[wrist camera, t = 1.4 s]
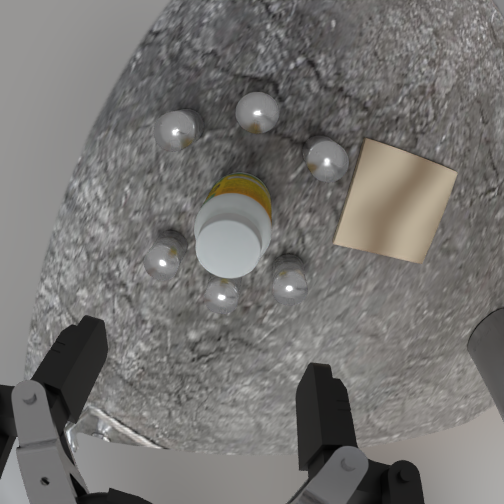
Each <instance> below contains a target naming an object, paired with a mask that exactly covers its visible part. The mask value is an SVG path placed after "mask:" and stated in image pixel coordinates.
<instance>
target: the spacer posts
mask: <svg viewBox="0 0 504 504" xmlns="http://www.w3.org/2000/svg"><path fill="white" fill-rule="evenodd" d="M236 119H237V121H238V123H239V125H240V126H241V127H242V128H243V129H245V130H246V131H248V132H250V133H255V134H260V133H265V132H267V131H269V130H271V129H272V128H273V127H274V126H275V125H276V123H277V121H278V119H279V107H278V104H277V103H276V101H275V100H274V99H273V98H272V97H271V96H270V95H268V94H266V93H263V92H252V93H249V94H247V95H245V96H244V97H242V98H241V99H240V101H239V102H238V104H237V106H236ZM203 130H204V121H203V119H202V117H201V115H200V114H199V113H198V112H196V111H194V110H192V109H182V110H177V111H172V112H168V113H165V114H163V115H162V116H161V117H160V118H159V119H158V120H157V121H156V123H155V126H154V138H155V140H156V142H157V144H158V145H159V146H160V147H161V148H163V149H164V150H167V151H171V152H176V151H180V150H182V149H184V148H185V147H187V146H188V145H190V144H191V143H193V142H195V141H196V140H197V139H199V138H200V136H201V135H202V133H203ZM302 155H303V159H304V161H305V163H306V164H307V166H308V168H309V170H310V172H311V174H312V175H313V176H314V177H315V178H316V179H318V180H320V181H323V182H334V181H337V180H339V179H340V178H342V177H343V176H344V174H345V173H346V171H347V169H348V165H349V159H348V155H347V153H346V151H345V150H344V149H343V148H342V147H341V146H340V145H339V144H337V143H336V142H334V141H333V140H332V139H330V138H329V137H327V136H323V135H316V136H313V137H311V138H309V139H308V140H307V141H306V142H305V144H304V146H303V150H302ZM186 250H187V242H186V240H185V238H184V237H183V235H181V234H180V233H179V232H176V231H173V230H168V231H165V232H163V233H162V234H161V235H160V236H159V237H158V239H157V240H156V242H155V243H154V244H153V246H152V247H151V249H150V250H149V252H148V253H147V255H146V256H145V258H144V267H145V269H146V271H147V273H148V274H149V275H150V276H152V277H153V278H155V279H157V280H169V279H171V278H172V277H173V276H174V275H175V273H176V271H177V269H178V267H179V265H180V263H181V261H182V259H183V257H184V255H185V253H186ZM272 275H273V296H274V298H275V299H276V301H278V302H279V303H281V304H283V305H289V306H290V305H296V304H298V303H300V302H302V301H303V300H304V299H305V298H306V296H307V293H308V288H307V282H306V277H305V271H304V265H303V262H302V260H301V259H300V258H299V257H298V256H296V255H293V254H284V255H281V256H279V257H278V258H277V259H276V260H275V261H274V263H273V266H272ZM240 283H241V277H237V278H222V277H219V276H216V275H214V274H212V273H211V275H210V279H209V282H208V285H207V289H206V292H205V295H204V302H205V305H206V306H207V308H208V309H210V310H211V311H213V312H215V313H218V314H227V313H230V312H232V311H233V310H234V309H235V308H236V307H237V304H238V297H239V290H240Z"/></svg>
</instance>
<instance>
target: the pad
mask: <svg viewBox="0 0 504 504" xmlns="http://www.w3.org/2000/svg"><path fill="white" fill-rule="evenodd" d="M457 174H458V172H456V171H454V170H452V169H449V168H447V167H444V166H442V165H440V164H437V163H435V162H432V161H430V160H427V159H425V158H422V157H420V156H417V155H414V154H412V153H409V152H406V151H403V150H401V149H398V148H395V147H392V146H389V145H386V144H383V143H381V142H377V141H374V140H371V139H368V138H365V137H364V139H363V143H362V146H361V150H360V153H359V157H358V160H357V164H356V167H355V171H354V174H353V178H352V181H351V184H350V188H349V191H348V194H347V197H346V201H345V204H344V207H343V210H342V213H341V216H340V219H339V223H338V226H337V229H336V232H335V235H334V238H333V241H332V242H333V244H336V245H340V246H345V247H349V248H354V249H358V250H363V251H367V252H372V253H376V254H381V255H385V256H389V257H394V258H398V259H402V260H407V261H411V262H415V263H419V264H422V263H423V260H424V258H425V256H426V254H427V251H428V249H429V247H430V245H431V242H432V240H433V238H434V235H435V233H436V230H437V228H438V225H439V223H440V220H441V218H442V215H443V213H444V210H445V208H446V205H447V202H448V199H449V197H450V194H451V191H452V188H453V185H454V182H455V180H456V177H457Z"/></svg>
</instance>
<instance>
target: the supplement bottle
mask: <svg viewBox="0 0 504 504" xmlns="http://www.w3.org/2000/svg"><path fill="white" fill-rule="evenodd" d="M194 234H195V239H196V254H197V257H198V260H199V262H200V263H201V265H202V266H203V267H204V268H205V269H206V270H207V271H209V272H210V273H212V274H214V275H216V276H219V277H222V278H237V277H241V276H244V275H246V274H248V273H249V272H251V271H252V270H253V269H254V268H255V266H256V265H257V263H258V262H259V259H260V257H261V256H262V255H263V254H264V253H265V251H266V250H267V248H268V246H269V244H270V241H271V236H272V219H271V198H270V194H269V191H268V189H267V187H266V186H265V185H264V183H263V182H262V181H261V180H260V179H258V178H257V177H255V176H253V175H251V174H248V173H244V172H236V173H232V174H229V175H226V176H224V177H223V178H221V179H220V180H219V181H218V182H217V183H216V184H215V185H214V187H213V188H212V190H211V192H210V193H209V195H208V197H207V198H206V200H205V202H204V203H203V205H202V207H201V209H200V210H199V212H198V214H197V217H196V220H195V225H194Z"/></svg>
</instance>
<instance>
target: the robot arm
mask: <svg viewBox="0 0 504 504" xmlns="http://www.w3.org/2000/svg"><path fill="white" fill-rule="evenodd" d="M468 352H469V354H470V356H471V357H472V359H473V361H474V363H475V365H476V367H477V369H478V370H479V373H480V374H481V376H482V378H483V380H484V382H485V384H486V386H487V388H488V390H489V392H490V394H491V396H492V398H493V400H494V402H495V404H496V407H497V409H498V411H499V413H500V415H501V417H502V420H503V422H504V308H503V309H500V310H497V311H496V312H494V313H492V314H491V315H489V316H488V317H487V318H486V319H484V320H483V321H482V322H481V323H480V324H479V326H478V327H477V328H476V329H475V331H474V332H473V334H472V336H471V337H470V340H469V343H468ZM107 353H108V344H107V337H106V330H105V323H104V321H103V320H101V319H98V318H94V317H91V316H88V315H85V316H84V317H83V318H82V320H81V321H80V323H79V324H78V326H76V325H73V324H71V325H70V326H69V327H67V328H66V329H64V330H63V331H62V332H61V333H60V335H59V336H58V338H57V339H56V342H55V343H54V344H53V345H52V347H51V350H49V351H48V353H47V355H46V356H45V358H44V359H43V361H42V362H41V364H40V366H39V367H38V369H37V370H36V372H35V374H34V375H33V377H32V378H31V379H30V380H25V381H22V382H20V383H19V384H17V385H16V386H6V385H0V479H1V476H2V473H3V470H4V467H5V465H6V462H7V459H8V457H9V454H10V451H11V449H12V446H13V444H14V441H15V439H16V437H18V440H19V447H17V449H16V453H17V459H18V463H19V467H20V471H21V475H22V479H23V482H24V486H25V489H26V492H27V496H28V499H29V502H30V504H152V503H150V502H148V501H146V500H144V499H143V498H141V497H139V496H135V495H132V494H128V493H125V492H121V491H118V490H115V489H112V488H109V492H108V493H105V492H103V493H102V492H101V493H100V492H98V493H89V491H88V489H87V486H86V484H85V482H84V479H83V478H82V476H81V474H80V472H79V470H78V467H77V465H76V462H75V459H74V456H73V453H72V450H71V447H70V444H69V441H68V438H67V435H66V432H65V429H64V427H65V425H66V423H67V421H70V422H72V423H75V424H76V423H77V421H78V419H79V416H80V414H81V412H82V410H83V407H84V405H85V403H86V401H87V399H88V396H89V394H90V392H91V390H92V388H93V386H94V383H95V381H96V379H97V377H98V375H99V373H100V371H101V369H102V367H103V365H104V363H105V360H106V358H107ZM350 410H351V408H350V403H349V398H348V393H347V389H346V387H345V386H344V384H343V383H342V381H341V380H340V379H336V378H333V377H332V371H331V367H330V365H329V364H320V363H309V365H308V367H307V369H306V371H305V373H304V375H303V377H302V379H301V381H300V383H299V385H298V388H297V391H296V415H297V435H298V456H299V470H301V471H308V477H309V478H308V479H307V480H306V481H305V482H304V484H303V485H302V486H301V487H300V488H299V490H297V492H296V493H295V494H294V495H293V496H292V497H291V499H290V500H289V501H288V502H287V503H286V504H425V503H424V497H423V491H422V485H421V479H420V474H419V471H418V469H417V467H416V466H415V465H414V464H413V463H411V462H409V461H405V460H401V461H397V462H395V463H394V464H392V465H386V464H382V463H379V462H374V461H372V460H370V459H367V457H366V455H365V454H364V453H363V452H362V451H361V450H360V449H359V448H358V446H357V442H356V436H355V430H354V425H353V419H352V414H351V412H350Z"/></svg>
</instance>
